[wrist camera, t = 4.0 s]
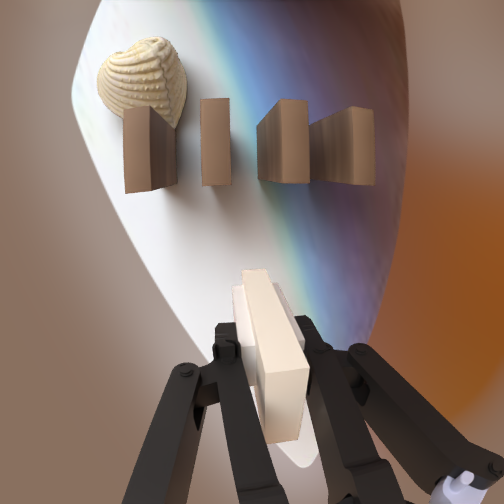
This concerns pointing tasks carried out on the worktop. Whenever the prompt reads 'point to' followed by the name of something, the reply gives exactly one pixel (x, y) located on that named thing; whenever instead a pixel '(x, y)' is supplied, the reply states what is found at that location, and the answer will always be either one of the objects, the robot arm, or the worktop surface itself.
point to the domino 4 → (275, 360)
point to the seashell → (144, 79)
